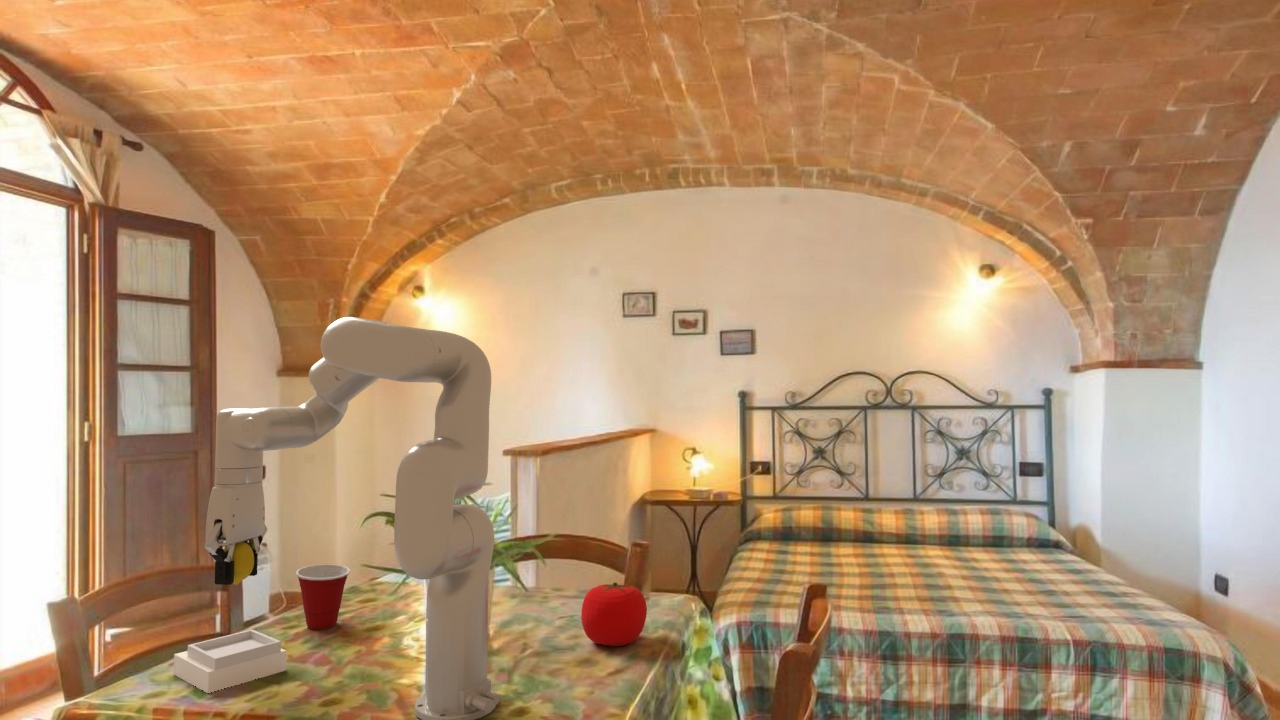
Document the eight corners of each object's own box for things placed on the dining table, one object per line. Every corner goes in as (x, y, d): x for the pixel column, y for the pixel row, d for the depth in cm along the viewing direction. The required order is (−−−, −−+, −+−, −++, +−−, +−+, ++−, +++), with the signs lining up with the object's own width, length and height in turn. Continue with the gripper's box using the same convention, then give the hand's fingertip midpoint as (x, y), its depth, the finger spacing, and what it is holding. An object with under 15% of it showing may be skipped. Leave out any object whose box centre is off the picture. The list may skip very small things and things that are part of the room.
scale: (285, 670, 132) (286, 639, 132) (207, 693, 121) (208, 660, 122) (249, 653, 140) (249, 624, 140) (173, 674, 130) (174, 643, 130)
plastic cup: (319, 637, 150) (320, 577, 150) (283, 629, 155) (284, 572, 155) (360, 622, 160) (361, 566, 160) (325, 615, 164) (326, 561, 165)
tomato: (571, 651, 142) (572, 589, 142) (593, 629, 155) (593, 573, 155) (636, 656, 138) (636, 594, 139) (652, 633, 152) (652, 576, 152)
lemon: (238, 589, 127) (239, 543, 128) (210, 588, 128) (212, 541, 129) (260, 581, 133) (261, 537, 133) (234, 580, 134) (235, 535, 134)
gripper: (251, 472, 141) (248, 567, 140) (184, 482, 124) (181, 591, 123) (287, 472, 140) (285, 569, 139) (225, 483, 123) (222, 593, 122)
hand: (236, 578), depth 131 cm, fingers closed on lemon, 5 cm apart
